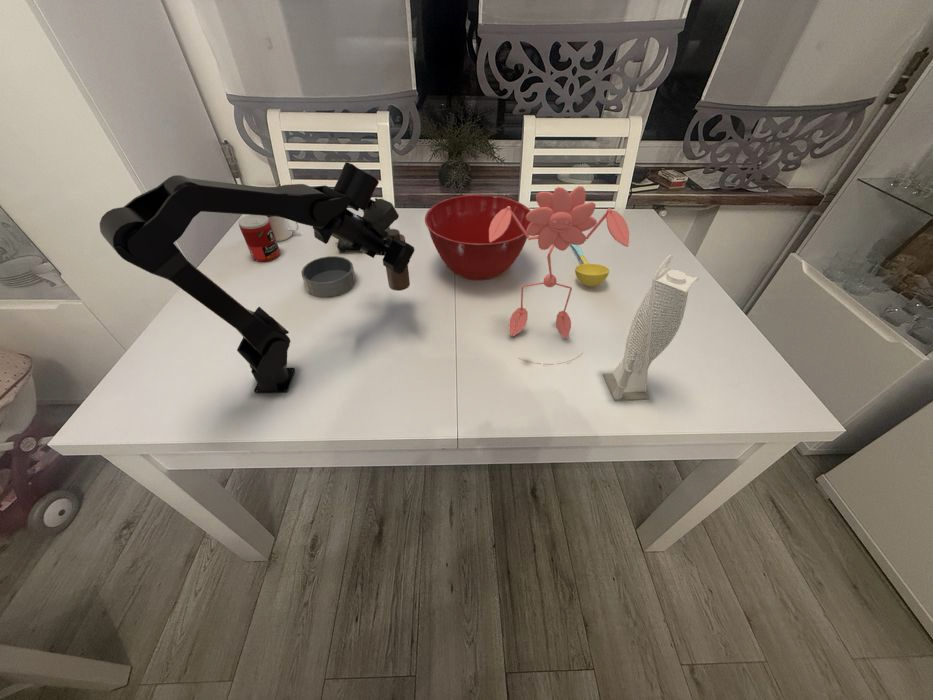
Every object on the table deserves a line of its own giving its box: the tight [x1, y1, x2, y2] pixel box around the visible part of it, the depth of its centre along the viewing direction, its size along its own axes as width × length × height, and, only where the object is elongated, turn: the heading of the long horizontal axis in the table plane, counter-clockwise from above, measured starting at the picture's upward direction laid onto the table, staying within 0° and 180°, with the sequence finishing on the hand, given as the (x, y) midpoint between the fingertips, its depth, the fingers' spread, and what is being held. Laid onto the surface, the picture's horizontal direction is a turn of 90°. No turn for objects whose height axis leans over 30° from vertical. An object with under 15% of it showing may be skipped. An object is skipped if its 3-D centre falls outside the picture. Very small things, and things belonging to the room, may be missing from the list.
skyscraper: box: [602, 253, 700, 402], centre depth 70 cm, size 8×8×28 cm
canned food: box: [237, 215, 281, 263], centre depth 111 cm, size 8×8×11 cm
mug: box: [267, 216, 300, 243], centre depth 120 cm, size 12×10×9 cm
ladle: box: [570, 244, 611, 287], centre depth 111 cm, size 9×26×6 cm, turn 1°
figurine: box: [489, 185, 630, 366], centre depth 77 cm, size 15×26×35 cm, turn 83°
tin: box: [301, 255, 357, 299], centre depth 103 cm, size 13×13×4 cm
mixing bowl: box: [424, 194, 531, 281], centre depth 106 cm, size 28×28×15 cm
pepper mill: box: [383, 228, 411, 292], centre depth 88 cm, size 5×5×14 cm
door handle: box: [336, 225, 391, 253], centre depth 123 cm, size 3×20×16 cm
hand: (400, 258), depth 89 cm, fingers closed on pepper mill, 5 cm apart
